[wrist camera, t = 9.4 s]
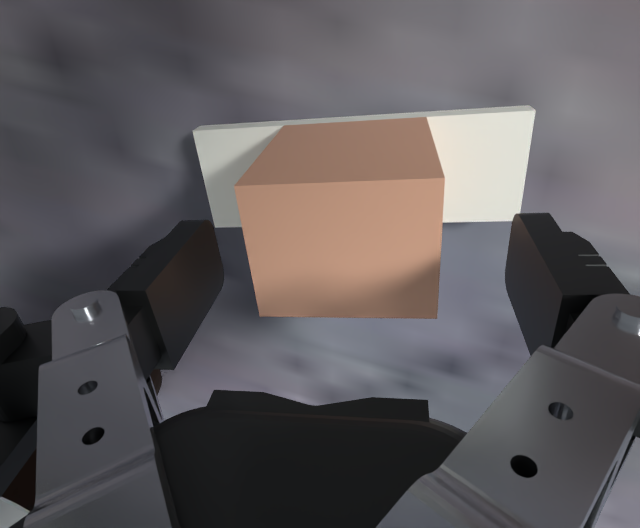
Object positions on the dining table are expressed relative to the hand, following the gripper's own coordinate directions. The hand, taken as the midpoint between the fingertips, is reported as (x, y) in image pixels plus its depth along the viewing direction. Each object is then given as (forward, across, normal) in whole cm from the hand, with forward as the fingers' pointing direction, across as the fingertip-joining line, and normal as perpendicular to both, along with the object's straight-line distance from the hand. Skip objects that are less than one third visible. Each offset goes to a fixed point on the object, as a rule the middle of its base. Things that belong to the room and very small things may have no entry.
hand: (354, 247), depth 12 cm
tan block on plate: (+6, 0, 0) cm, 6 cm away
